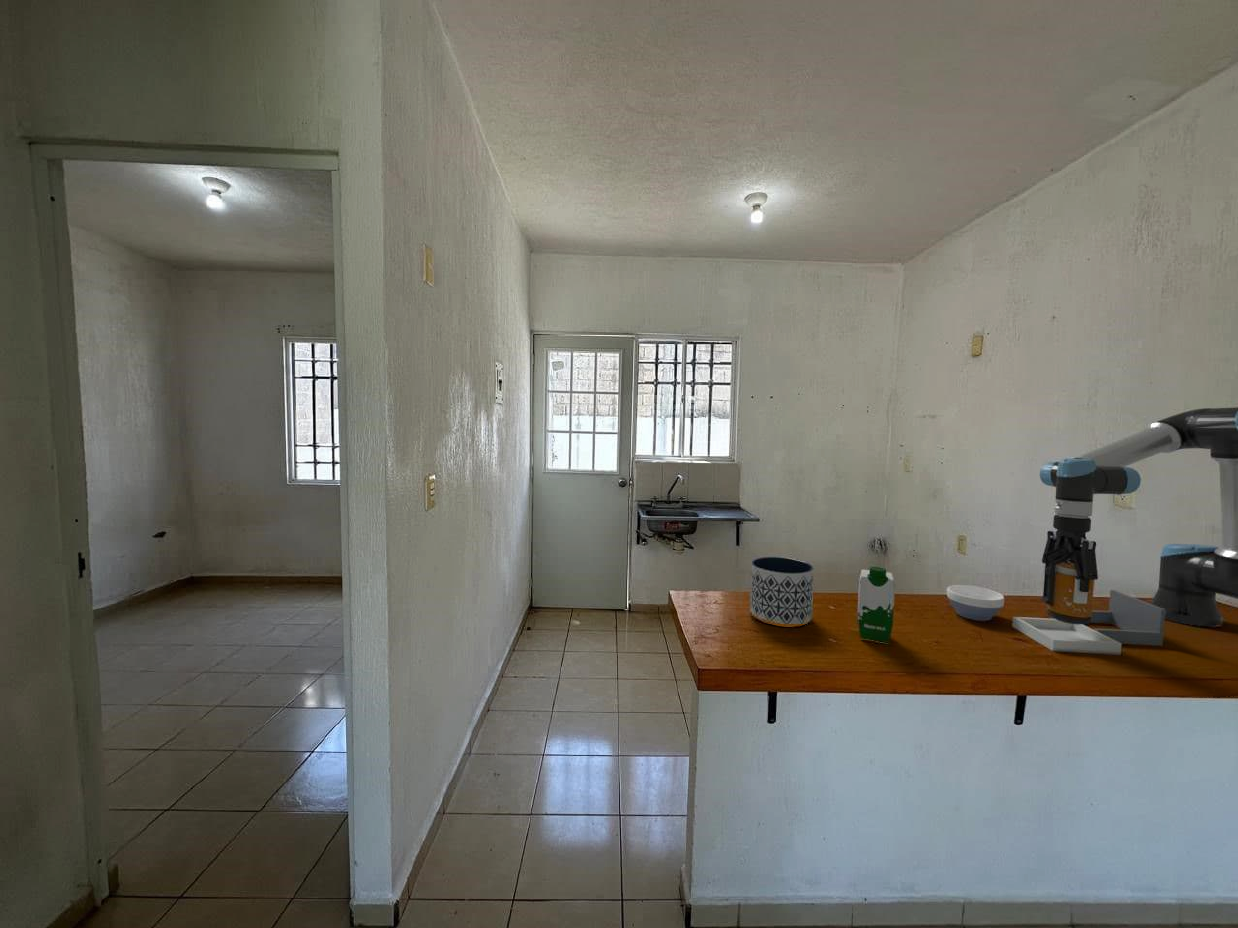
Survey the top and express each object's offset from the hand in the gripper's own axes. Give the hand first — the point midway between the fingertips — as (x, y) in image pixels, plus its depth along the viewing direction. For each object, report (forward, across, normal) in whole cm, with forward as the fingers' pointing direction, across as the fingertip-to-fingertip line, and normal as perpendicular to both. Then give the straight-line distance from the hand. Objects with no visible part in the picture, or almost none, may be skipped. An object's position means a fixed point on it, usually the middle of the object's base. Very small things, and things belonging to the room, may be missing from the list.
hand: (1065, 596), depth 136 cm
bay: (+12, -8, +16) cm, 22 cm away
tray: (+12, 0, 0) cm, 12 cm away
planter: (+13, -6, -74) cm, 76 cm away
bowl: (+12, -16, -14) cm, 25 cm away
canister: (+7, 0, 0) cm, 7 cm away
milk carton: (+13, +6, -51) cm, 53 cm away
